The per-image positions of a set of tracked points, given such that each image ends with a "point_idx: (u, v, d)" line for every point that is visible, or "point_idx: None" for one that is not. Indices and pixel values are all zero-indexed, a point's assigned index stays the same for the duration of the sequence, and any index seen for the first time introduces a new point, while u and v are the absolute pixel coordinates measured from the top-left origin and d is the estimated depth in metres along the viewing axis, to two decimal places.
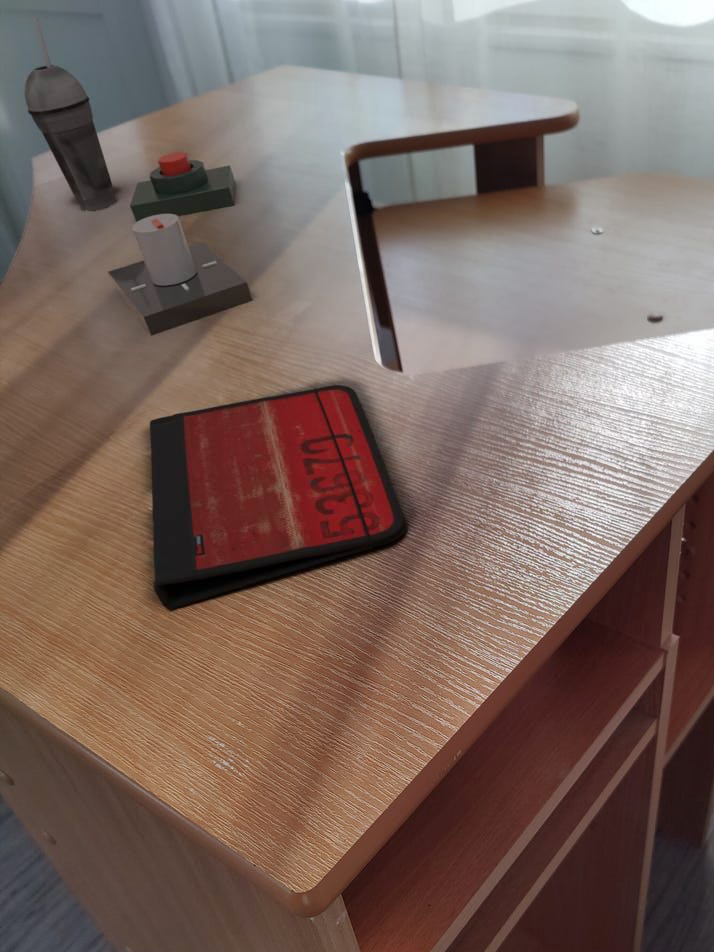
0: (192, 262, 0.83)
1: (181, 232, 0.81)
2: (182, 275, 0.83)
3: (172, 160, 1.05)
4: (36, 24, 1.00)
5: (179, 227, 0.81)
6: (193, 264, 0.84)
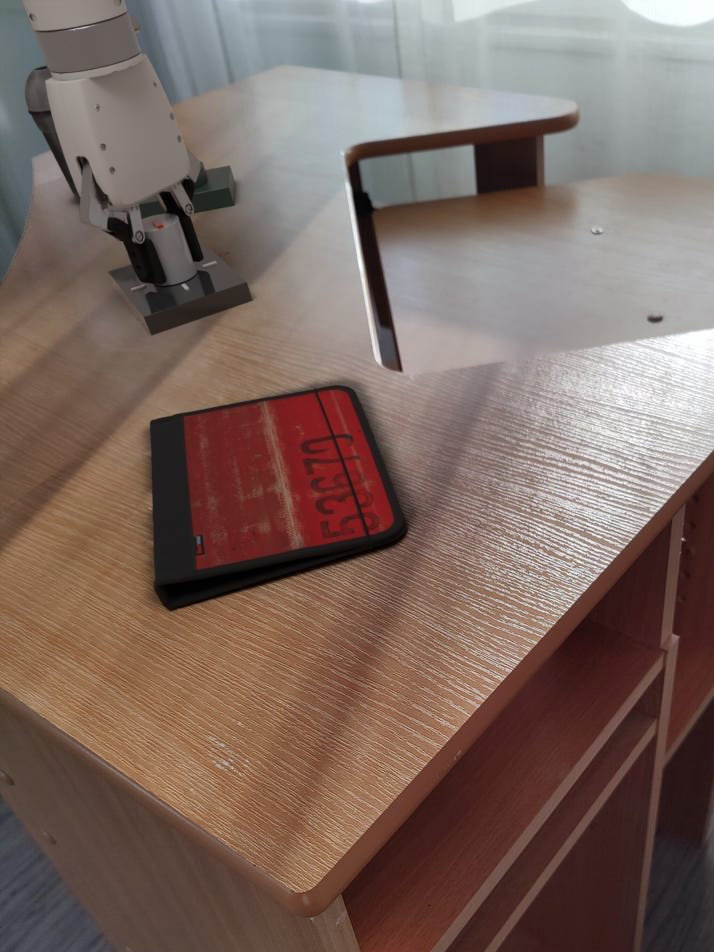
0: (192, 262, 0.83)
1: (181, 232, 0.81)
2: (182, 275, 0.83)
3: None
4: None
5: (179, 227, 0.81)
6: (193, 264, 0.84)
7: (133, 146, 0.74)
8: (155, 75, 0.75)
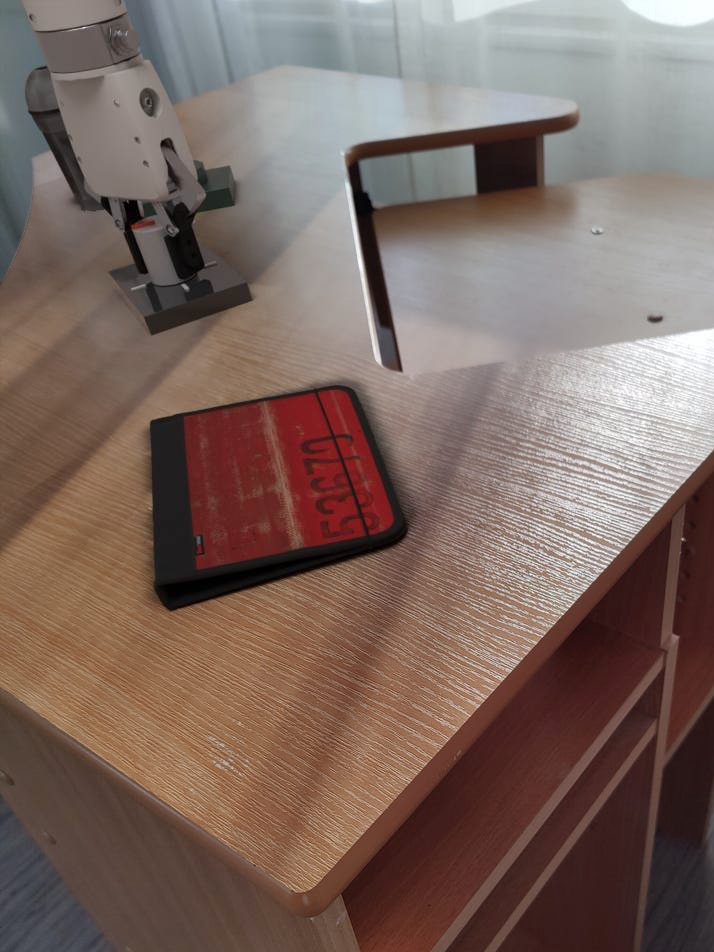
0: (164, 274, 0.82)
1: (151, 243, 0.80)
2: (151, 278, 0.83)
3: None
4: None
5: (148, 238, 0.80)
6: (166, 276, 0.82)
7: (93, 149, 0.75)
8: (120, 96, 0.70)
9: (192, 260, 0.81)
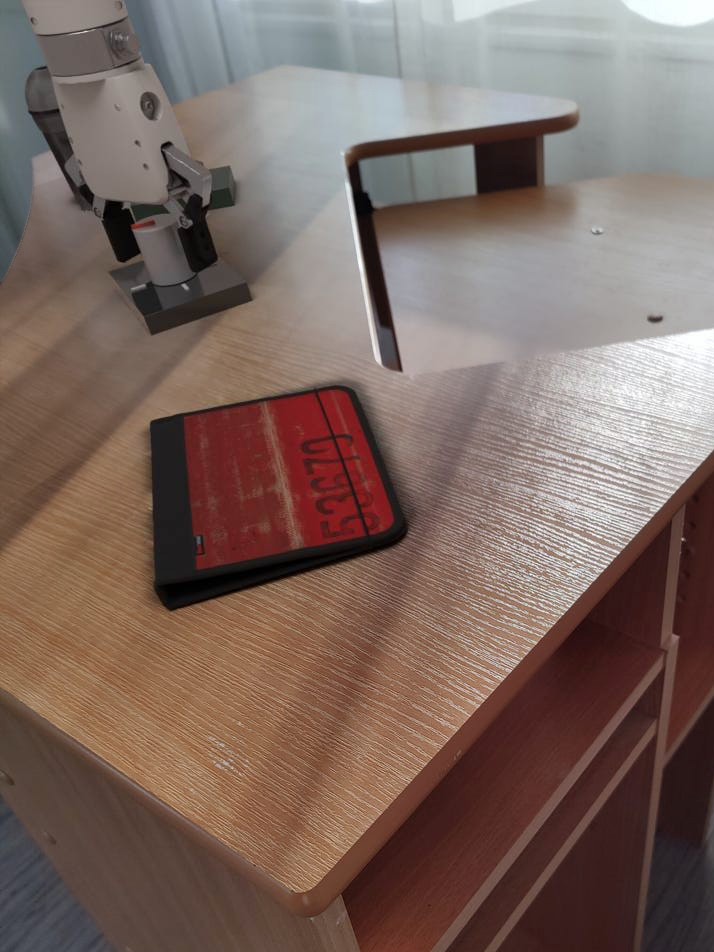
0: (163, 274, 0.82)
1: (150, 243, 0.80)
2: (151, 278, 0.83)
3: None
4: None
5: (148, 238, 0.80)
6: (165, 276, 0.82)
7: (94, 152, 0.75)
8: (121, 100, 0.71)
9: (205, 253, 0.80)
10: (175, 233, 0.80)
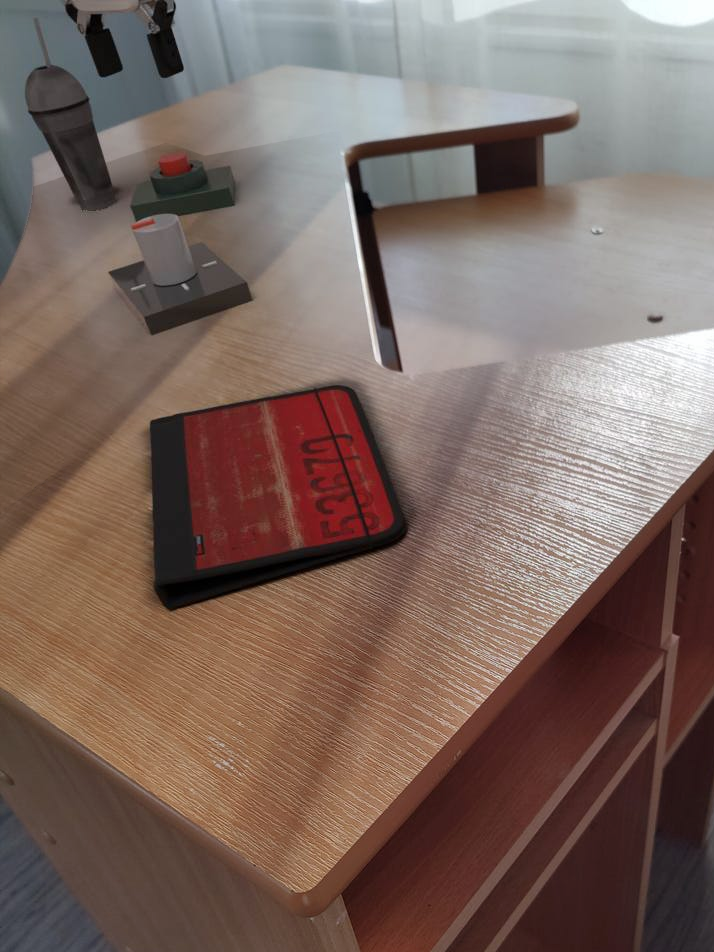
0: (163, 274, 0.82)
1: (150, 243, 0.80)
2: (151, 278, 0.83)
3: (172, 160, 1.05)
4: (36, 24, 1.00)
5: (148, 238, 0.80)
6: (165, 276, 0.82)
7: None
8: None
9: (172, 59, 0.93)
10: (175, 233, 0.80)
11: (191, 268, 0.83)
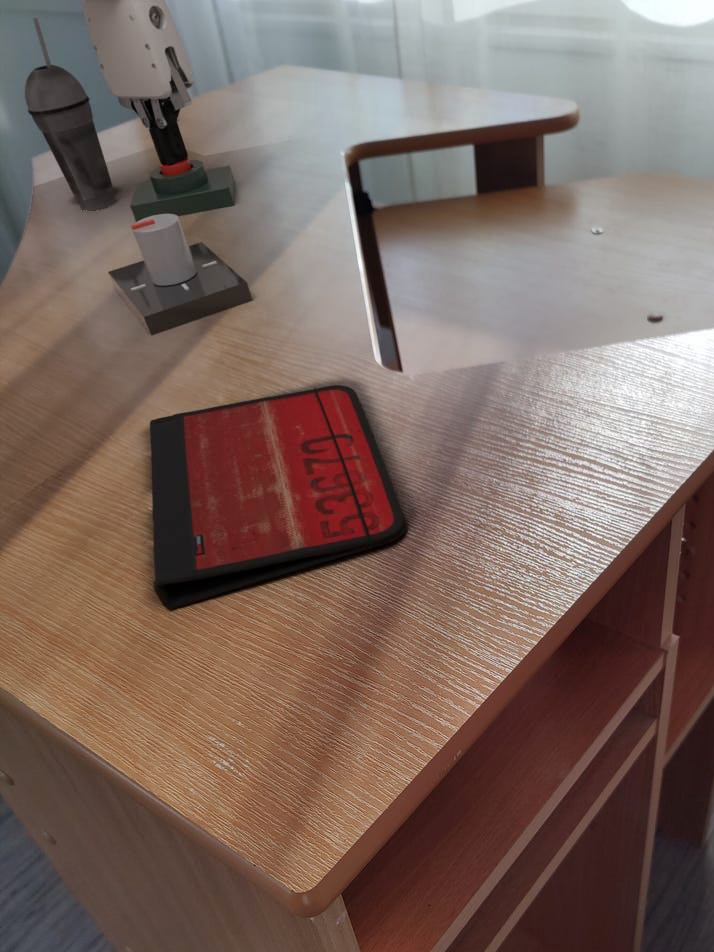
0: (163, 274, 0.82)
1: (150, 243, 0.80)
2: (151, 278, 0.83)
3: (174, 165, 1.05)
4: (36, 24, 1.00)
5: (148, 238, 0.80)
6: (165, 276, 0.82)
7: (113, 56, 0.97)
8: (134, 11, 0.92)
9: (177, 149, 1.04)
10: (175, 233, 0.80)
11: (191, 268, 0.83)
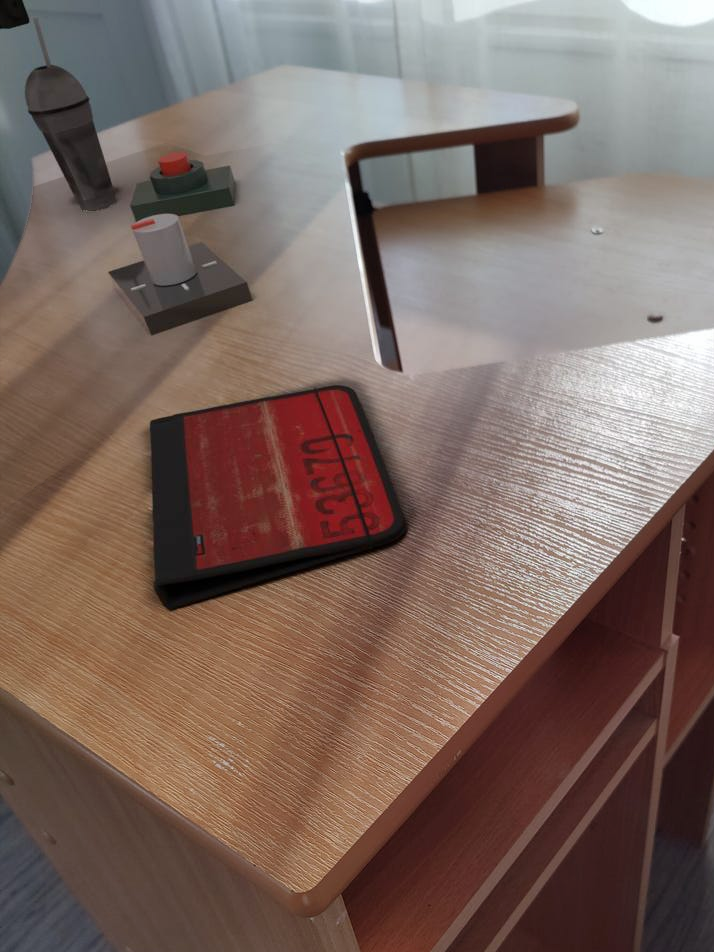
0: (163, 274, 0.82)
1: (150, 243, 0.80)
2: (151, 278, 0.83)
3: (172, 160, 1.05)
4: (36, 24, 1.00)
5: (148, 238, 0.80)
6: (165, 276, 0.82)
7: None
8: None
9: (14, 9, 0.88)
10: (175, 233, 0.80)
11: (191, 268, 0.83)
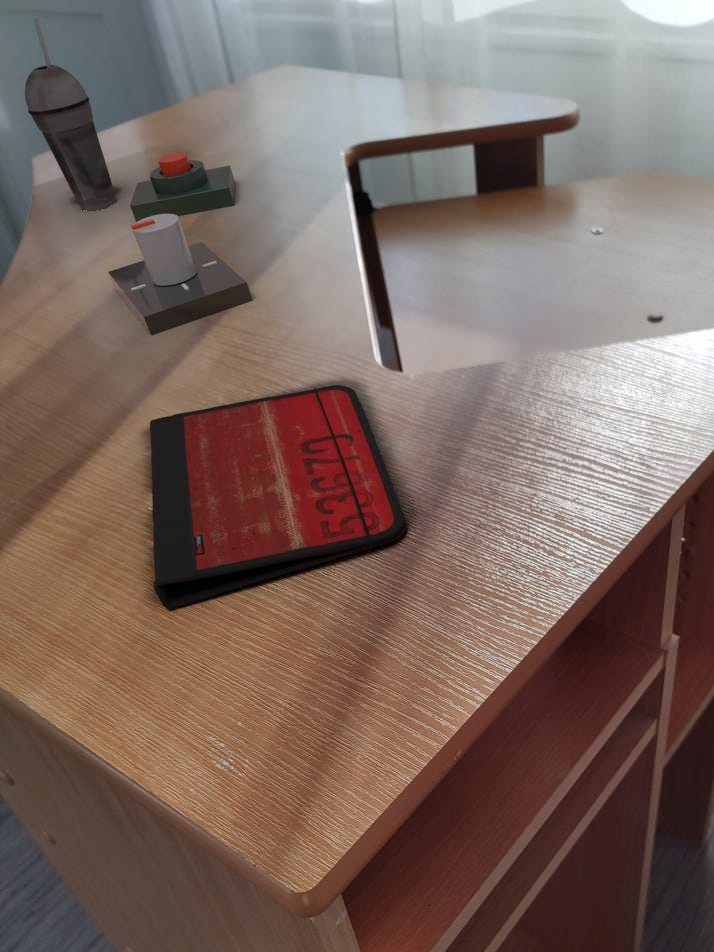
0: (163, 274, 0.82)
1: (150, 243, 0.80)
2: (151, 278, 0.83)
3: (172, 160, 1.05)
4: (36, 24, 1.00)
5: (148, 238, 0.80)
6: (165, 276, 0.82)
7: None
8: None
9: None
10: (175, 233, 0.80)
11: (191, 268, 0.83)
